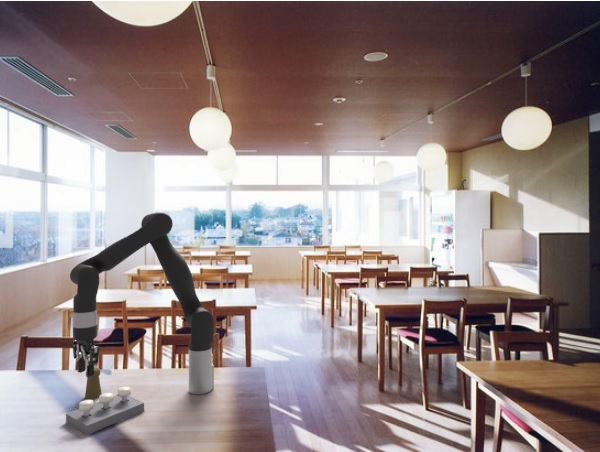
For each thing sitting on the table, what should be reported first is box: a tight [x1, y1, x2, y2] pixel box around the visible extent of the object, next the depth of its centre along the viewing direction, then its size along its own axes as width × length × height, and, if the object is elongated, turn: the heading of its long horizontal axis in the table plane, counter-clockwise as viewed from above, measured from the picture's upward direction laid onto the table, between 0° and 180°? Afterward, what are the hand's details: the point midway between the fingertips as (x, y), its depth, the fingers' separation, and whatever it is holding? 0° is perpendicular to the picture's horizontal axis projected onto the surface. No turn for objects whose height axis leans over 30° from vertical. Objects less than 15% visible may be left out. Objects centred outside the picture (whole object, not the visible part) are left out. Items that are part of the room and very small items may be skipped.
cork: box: [84, 367, 103, 400], centre depth 169 cm, size 6×6×11 cm
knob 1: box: [78, 399, 94, 418], centre depth 146 cm, size 4×4×5 cm
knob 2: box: [117, 386, 132, 403], centre depth 158 cm, size 4×4×5 cm
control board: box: [65, 394, 145, 436], centre depth 152 cm, size 21×14×3 cm, turn 144°
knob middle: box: [98, 392, 114, 410], centre depth 152 cm, size 4×4×5 cm
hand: (85, 373), depth 146 cm, fingers open, 5 cm apart
